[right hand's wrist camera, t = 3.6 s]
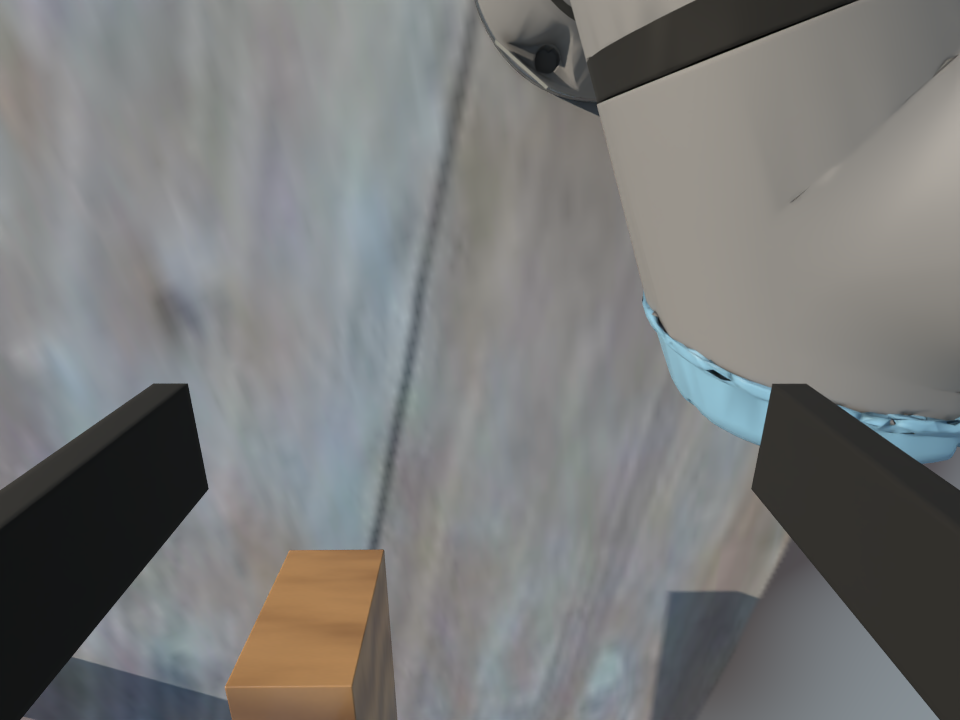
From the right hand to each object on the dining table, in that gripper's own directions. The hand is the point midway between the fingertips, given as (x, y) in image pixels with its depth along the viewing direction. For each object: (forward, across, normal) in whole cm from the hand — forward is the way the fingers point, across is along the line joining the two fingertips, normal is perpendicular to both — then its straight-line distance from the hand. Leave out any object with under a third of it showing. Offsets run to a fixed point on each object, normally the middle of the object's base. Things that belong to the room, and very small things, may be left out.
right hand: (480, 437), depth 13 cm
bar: (+17, -9, -30) cm, 36 cm away
